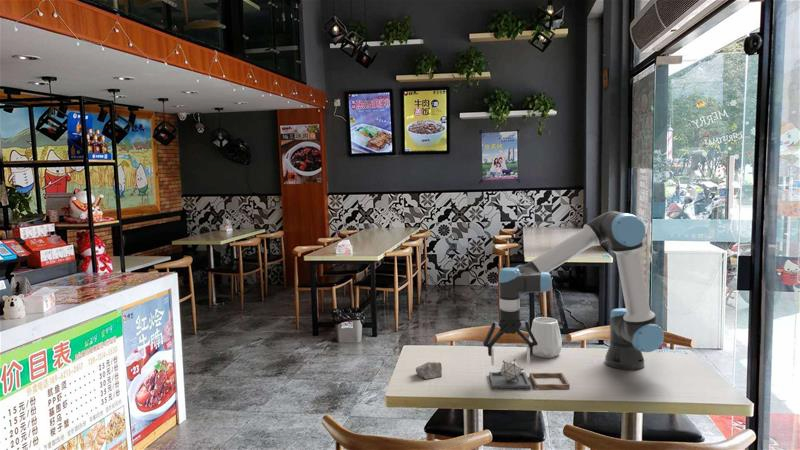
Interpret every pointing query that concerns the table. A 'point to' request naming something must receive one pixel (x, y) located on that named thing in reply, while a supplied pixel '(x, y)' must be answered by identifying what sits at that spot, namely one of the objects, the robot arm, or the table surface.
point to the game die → (510, 370)
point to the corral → (549, 386)
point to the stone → (429, 370)
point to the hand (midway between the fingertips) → (510, 363)
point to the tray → (500, 381)
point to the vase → (546, 337)
